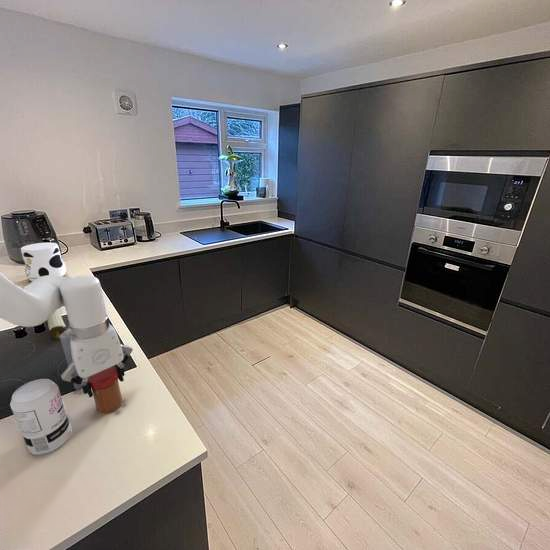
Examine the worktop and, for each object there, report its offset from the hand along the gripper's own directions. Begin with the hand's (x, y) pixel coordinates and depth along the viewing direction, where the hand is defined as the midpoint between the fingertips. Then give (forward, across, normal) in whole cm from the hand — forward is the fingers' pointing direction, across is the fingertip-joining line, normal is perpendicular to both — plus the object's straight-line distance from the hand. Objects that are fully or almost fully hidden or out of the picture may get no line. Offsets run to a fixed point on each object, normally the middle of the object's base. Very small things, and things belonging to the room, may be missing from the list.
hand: (105, 385), depth 75 cm
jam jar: (+7, 0, 0) cm, 7 cm away
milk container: (+7, +10, +115) cm, 116 cm away
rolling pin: (+7, +1, +58) cm, 58 cm away
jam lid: (-3, 0, 0) cm, 3 cm away
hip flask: (+7, +1, +18) cm, 20 cm away
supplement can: (+7, -13, -1) cm, 15 cm away
